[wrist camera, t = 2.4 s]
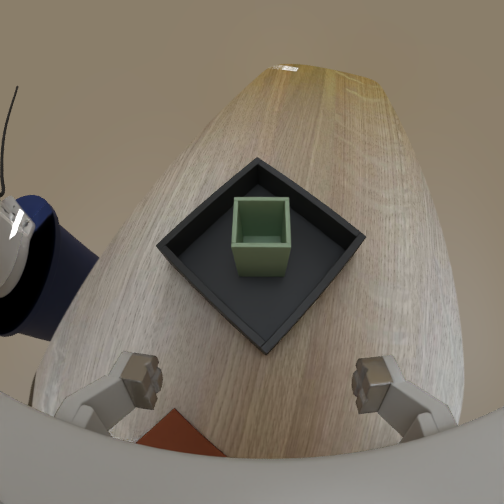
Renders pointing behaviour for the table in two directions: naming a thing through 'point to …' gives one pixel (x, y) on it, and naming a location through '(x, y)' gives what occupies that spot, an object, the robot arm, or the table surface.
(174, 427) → the mat
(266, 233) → the box
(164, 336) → the table surface
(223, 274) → the bin
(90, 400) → the robot arm
